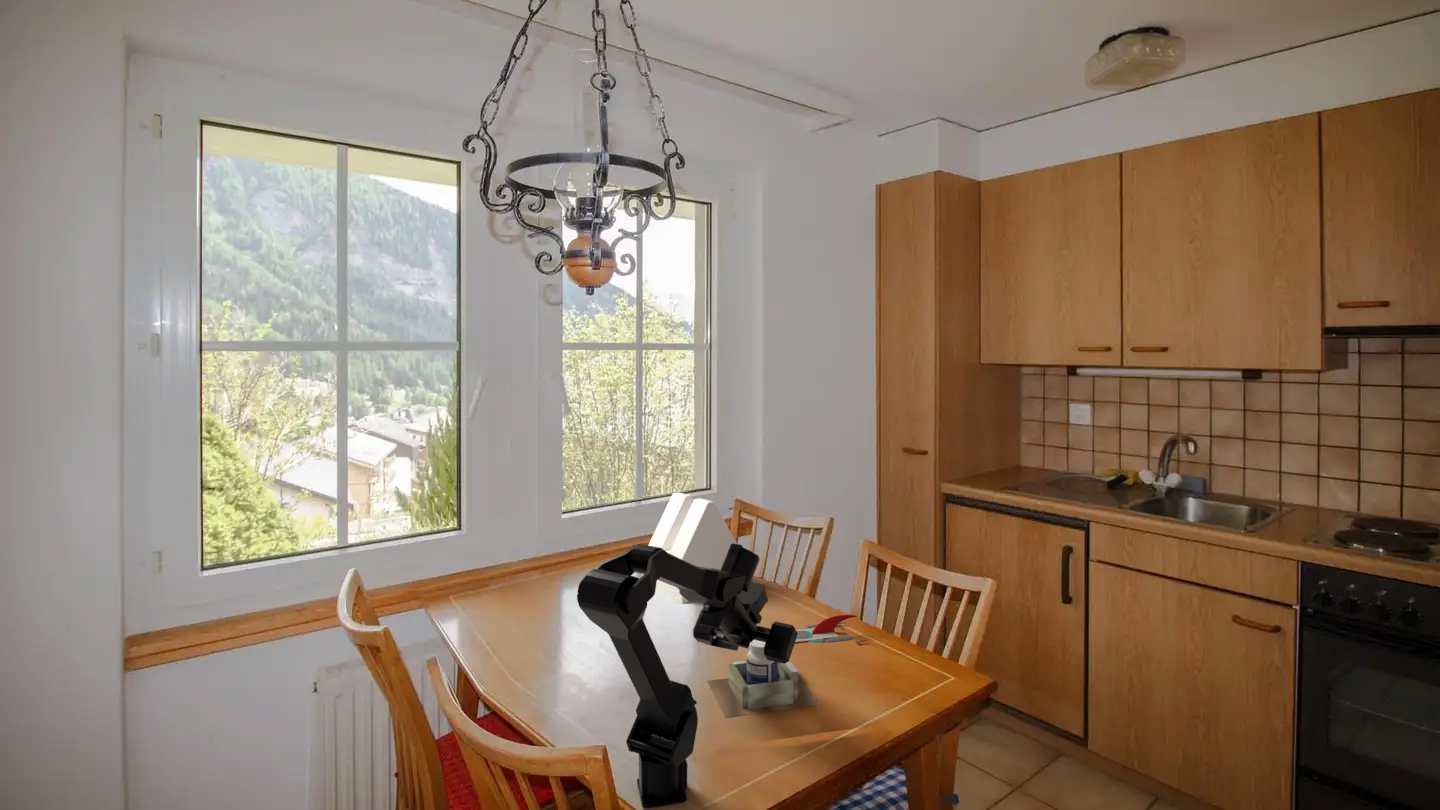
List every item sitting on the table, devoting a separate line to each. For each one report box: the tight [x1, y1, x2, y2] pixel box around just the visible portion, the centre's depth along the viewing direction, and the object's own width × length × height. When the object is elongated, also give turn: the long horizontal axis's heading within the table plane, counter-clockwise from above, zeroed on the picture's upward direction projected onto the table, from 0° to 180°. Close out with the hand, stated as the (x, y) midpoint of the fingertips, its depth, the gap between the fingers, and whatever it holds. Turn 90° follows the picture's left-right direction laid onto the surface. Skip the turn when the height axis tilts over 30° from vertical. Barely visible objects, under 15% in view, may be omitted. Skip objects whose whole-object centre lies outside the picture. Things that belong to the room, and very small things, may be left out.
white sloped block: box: [647, 492, 738, 604], centre depth 192 cm, size 19×15×25 cm
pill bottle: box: [746, 640, 777, 685], centre depth 132 cm, size 6×6×10 cm
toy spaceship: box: [795, 614, 868, 644], centre depth 157 cm, size 27×11×5 cm, turn 110°
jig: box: [706, 660, 822, 719], centre depth 133 cm, size 18×14×5 cm
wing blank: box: [785, 661, 799, 680], centre depth 139 cm, size 3×4×2 cm
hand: (759, 653), depth 131 cm, fingers open, 9 cm apart
